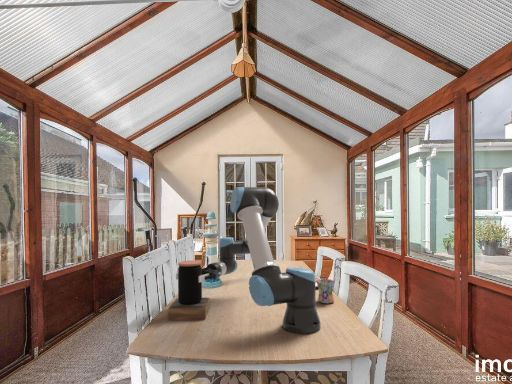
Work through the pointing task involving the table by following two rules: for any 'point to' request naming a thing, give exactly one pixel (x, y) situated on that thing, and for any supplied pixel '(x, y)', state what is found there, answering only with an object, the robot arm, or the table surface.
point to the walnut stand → (189, 310)
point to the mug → (325, 290)
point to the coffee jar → (189, 282)
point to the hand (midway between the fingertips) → (187, 277)
